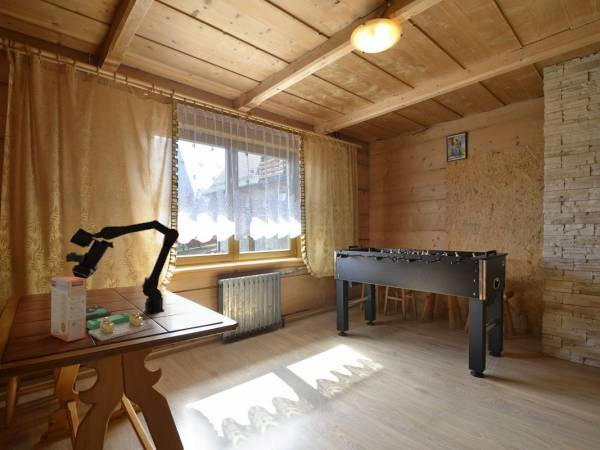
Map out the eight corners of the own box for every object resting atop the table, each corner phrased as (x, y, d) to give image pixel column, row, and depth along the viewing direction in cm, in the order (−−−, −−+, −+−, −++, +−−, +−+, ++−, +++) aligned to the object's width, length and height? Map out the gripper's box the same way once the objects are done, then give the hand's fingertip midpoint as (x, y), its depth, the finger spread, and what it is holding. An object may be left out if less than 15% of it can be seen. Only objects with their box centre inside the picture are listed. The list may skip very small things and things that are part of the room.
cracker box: (87, 337, 107) (87, 278, 107) (66, 343, 102) (66, 280, 102) (70, 330, 115) (70, 274, 115) (50, 335, 110) (50, 276, 110)
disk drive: (71, 316, 135) (83, 322, 126) (71, 310, 135) (83, 315, 126) (98, 311, 143) (111, 316, 134) (98, 305, 143) (111, 310, 134)
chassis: (139, 321, 125) (139, 308, 125) (153, 327, 118) (153, 313, 118) (88, 333, 111) (88, 318, 111) (100, 341, 104) (100, 325, 104)
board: (125, 318, 129) (125, 313, 129) (132, 321, 125) (132, 315, 125) (87, 327, 118) (87, 321, 118) (93, 331, 114) (93, 324, 114)
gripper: (80, 243, 135) (58, 276, 131) (70, 245, 118) (45, 282, 115) (106, 254, 139) (86, 286, 136) (100, 257, 122) (77, 294, 119)
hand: (74, 287), depth 126 cm, fingers open, 9 cm apart
